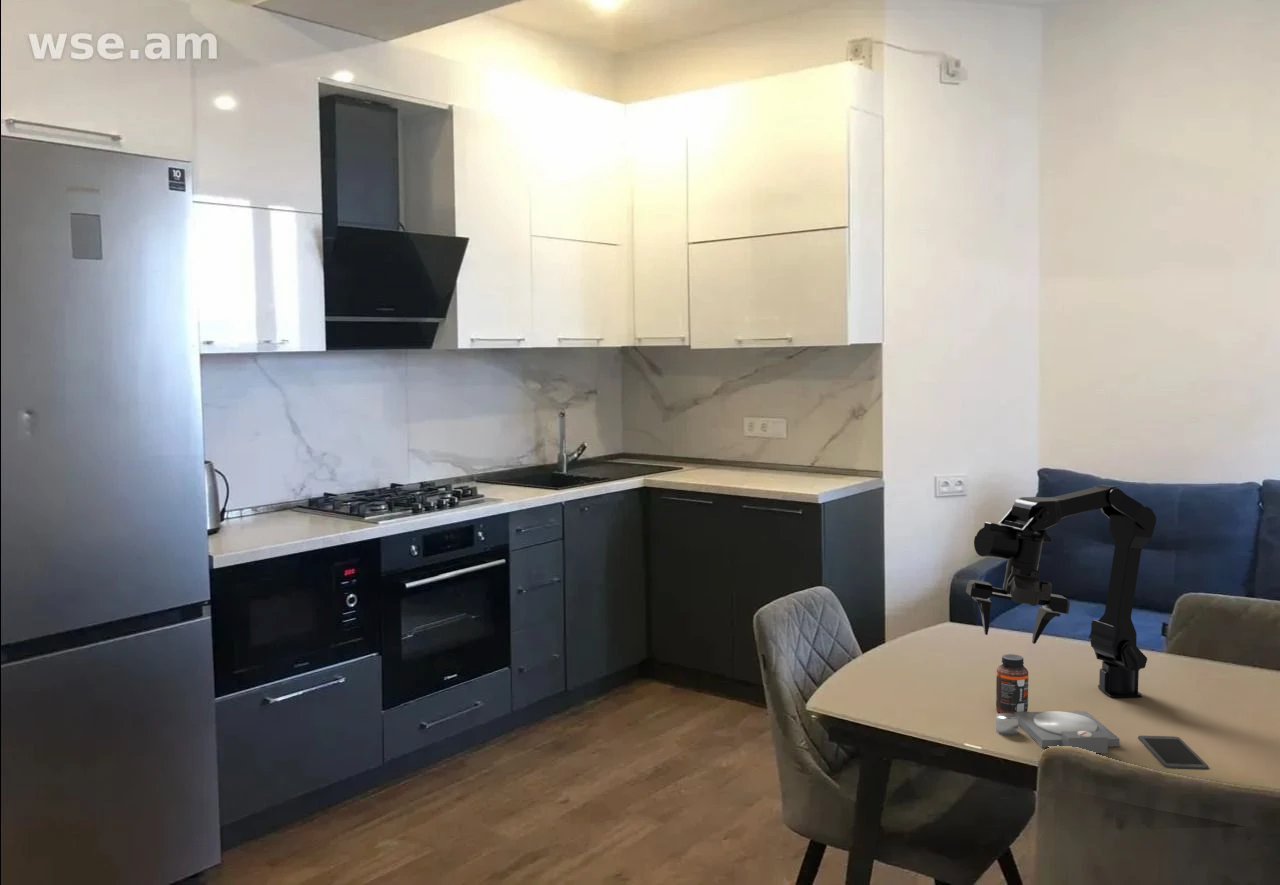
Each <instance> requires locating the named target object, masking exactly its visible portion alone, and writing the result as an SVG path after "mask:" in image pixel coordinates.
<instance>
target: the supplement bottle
mask: <svg viewBox="0 0 1280 885" xmlns="http://www.w3.org/2000/svg"><path fill="white" fill-rule="evenodd" d="M1001 663H1002V664H999V665H998V666H997V668H996V681H995V682H996V683H995V684H996V686H995V687H996V688H995V689H996V691H995V692H996V693H995V697H996V698H995V705H996V706H995V710H996V711H997V712H998V714H999V713H1010V714H1014V712H1029V710H1028V709H1029V670H1028V669H1027V668H1026V667H1025V664H1024V656H1022V655H1019V654H1015V653H1014V654H1013V653H1010V654H1009V653H1008V654H1003V655H1002V656H1001Z"/></svg>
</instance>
